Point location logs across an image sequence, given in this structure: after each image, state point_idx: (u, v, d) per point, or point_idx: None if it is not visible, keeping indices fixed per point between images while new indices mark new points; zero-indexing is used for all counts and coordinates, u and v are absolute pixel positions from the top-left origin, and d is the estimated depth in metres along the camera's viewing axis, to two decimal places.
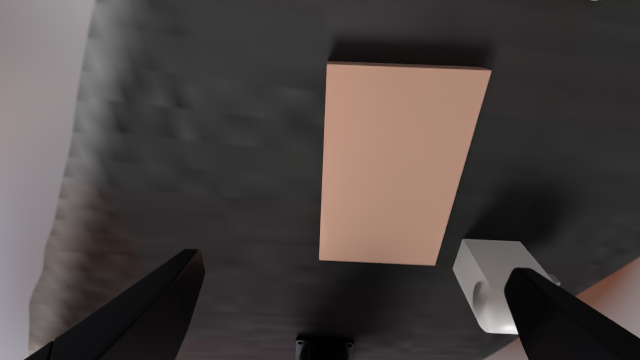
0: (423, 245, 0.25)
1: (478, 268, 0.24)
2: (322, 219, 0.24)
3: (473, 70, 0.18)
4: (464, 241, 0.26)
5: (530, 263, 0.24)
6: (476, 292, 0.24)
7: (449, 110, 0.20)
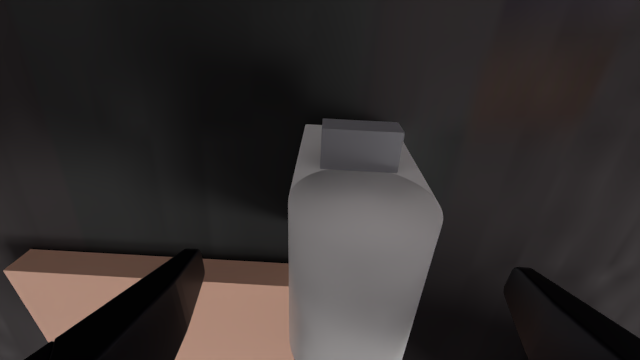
0: None
1: None
2: None
3: (14, 285, 0.15)
4: None
5: None
6: None
7: (70, 301, 0.15)
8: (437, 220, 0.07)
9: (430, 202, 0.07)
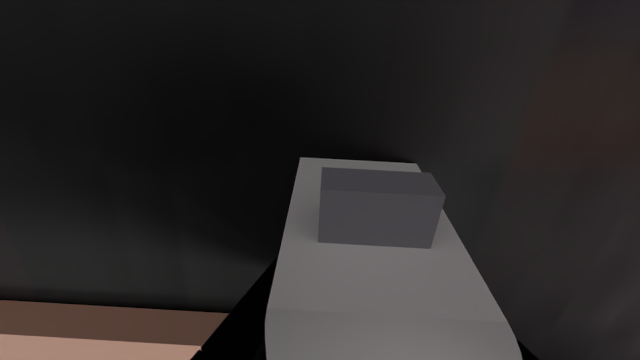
0: None
1: None
2: None
3: None
4: None
5: None
6: None
7: None
8: None
9: (493, 317, 0.05)
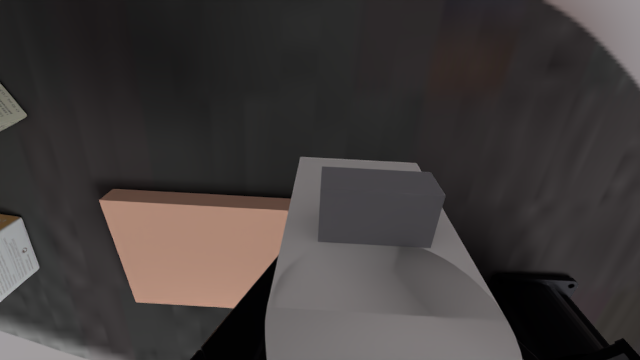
0: None
1: None
2: None
3: (104, 212, 0.21)
4: None
5: None
6: None
7: (143, 225, 0.21)
8: None
9: (492, 316, 0.05)
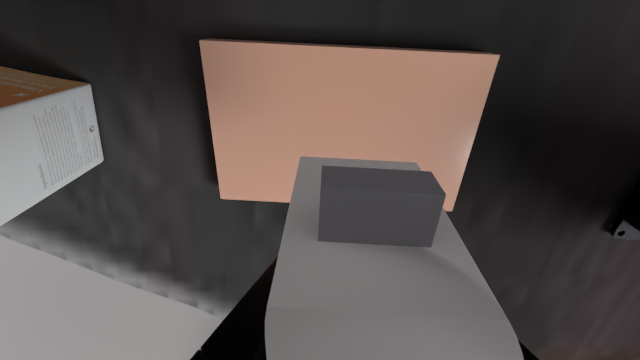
0: (452, 80, 0.17)
1: None
2: None
3: (203, 61, 0.17)
4: None
5: None
6: None
7: (249, 80, 0.17)
8: None
9: (493, 316, 0.05)
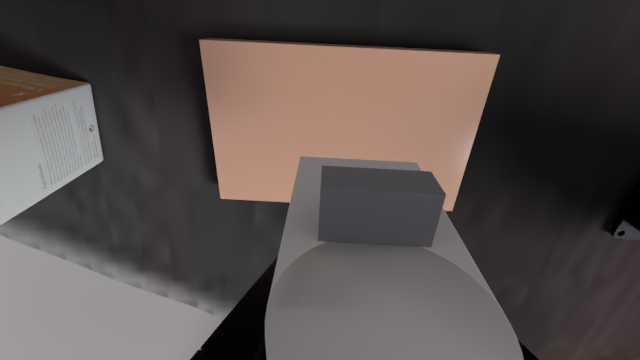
0: (452, 80, 0.17)
1: None
2: None
3: (202, 60, 0.17)
4: None
5: None
6: None
7: (249, 79, 0.17)
8: None
9: (493, 316, 0.05)
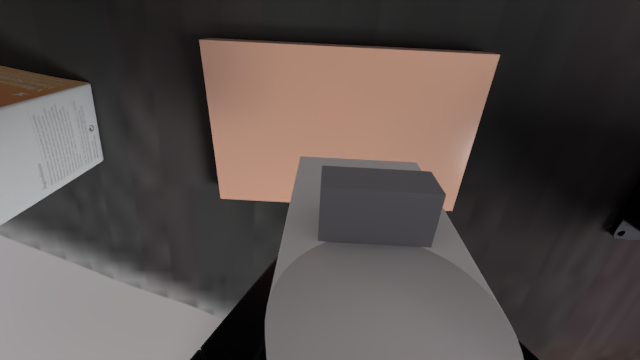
0: (452, 80, 0.17)
1: None
2: None
3: (202, 60, 0.17)
4: None
5: None
6: None
7: (249, 79, 0.17)
8: None
9: (493, 316, 0.05)
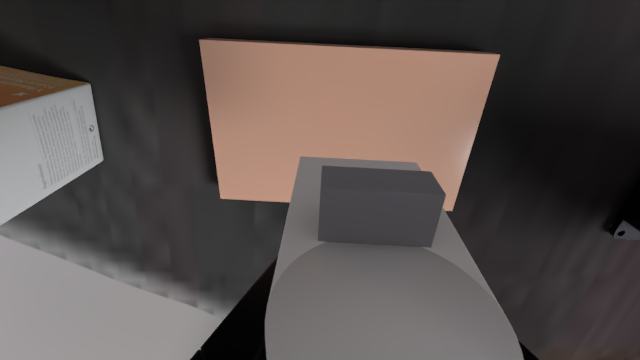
0: (452, 80, 0.17)
1: None
2: None
3: (202, 60, 0.17)
4: None
5: None
6: None
7: (249, 79, 0.17)
8: None
9: (493, 316, 0.05)
